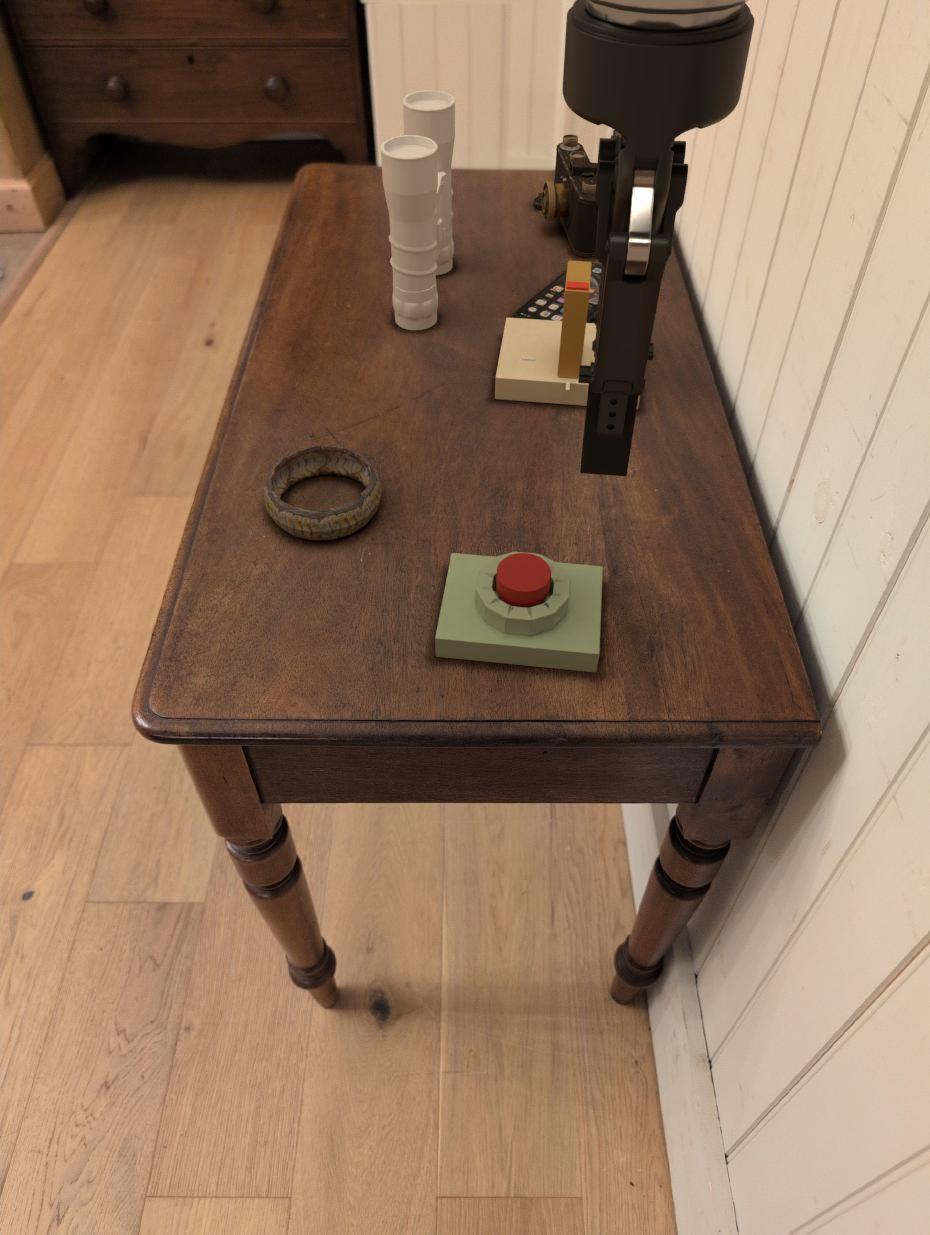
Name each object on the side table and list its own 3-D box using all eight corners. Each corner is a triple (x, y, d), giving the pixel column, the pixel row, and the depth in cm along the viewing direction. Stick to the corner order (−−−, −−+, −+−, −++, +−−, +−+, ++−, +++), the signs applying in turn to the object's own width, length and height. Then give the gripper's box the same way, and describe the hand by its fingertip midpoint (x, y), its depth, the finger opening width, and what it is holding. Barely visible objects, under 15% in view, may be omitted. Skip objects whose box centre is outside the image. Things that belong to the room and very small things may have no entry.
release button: (551, 571, 70) (552, 554, 68) (547, 610, 67) (549, 594, 66) (498, 566, 70) (499, 550, 69) (493, 605, 67) (493, 588, 66)
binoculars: (436, 334, 98) (432, 159, 85) (386, 330, 99) (374, 156, 85) (459, 256, 109) (458, 91, 96) (414, 253, 110) (407, 88, 96)
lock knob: (560, 345, 92) (568, 257, 85) (582, 347, 92) (592, 259, 85) (557, 377, 88) (565, 287, 82) (580, 378, 88) (589, 289, 81)
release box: (599, 585, 74) (605, 549, 71) (596, 673, 68) (602, 638, 65) (451, 571, 75) (451, 535, 72) (435, 657, 69) (434, 621, 66)
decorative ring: (391, 473, 83) (283, 464, 84) (389, 444, 80) (278, 435, 81) (371, 551, 76) (253, 541, 77) (367, 522, 74) (246, 512, 75)
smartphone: (636, 277, 105) (571, 335, 96) (636, 282, 105) (570, 340, 97) (580, 258, 108) (511, 313, 99) (579, 264, 108) (511, 319, 100)
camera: (528, 197, 120) (532, 132, 114) (579, 195, 120) (585, 130, 114) (551, 259, 109) (556, 191, 103) (606, 256, 109) (614, 188, 103)
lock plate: (638, 347, 96) (641, 324, 94) (638, 418, 88) (642, 395, 86) (505, 338, 98) (506, 315, 96) (493, 407, 89) (493, 384, 87)
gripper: (575, -44, 41) (547, 399, 59) (558, 49, 33) (531, 536, 50) (745, -41, 41) (665, 406, 58) (773, 55, 32) (670, 547, 50)
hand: (603, 466), depth 54 cm, fingers closed
